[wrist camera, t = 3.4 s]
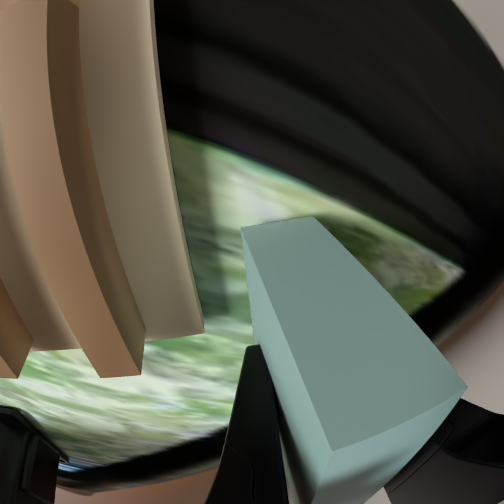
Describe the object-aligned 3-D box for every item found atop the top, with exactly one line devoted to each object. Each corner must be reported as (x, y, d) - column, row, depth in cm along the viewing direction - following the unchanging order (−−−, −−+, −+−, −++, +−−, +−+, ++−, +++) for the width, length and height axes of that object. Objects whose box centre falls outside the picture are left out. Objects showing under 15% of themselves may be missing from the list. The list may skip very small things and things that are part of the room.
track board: (1, 336, 8) (-23, 384, 6) (-73, 77, 3) (-122, 85, 1) (202, 312, 10) (209, 378, 7) (152, -39, 4) (138, -92, 2)
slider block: (260, 389, 11) (301, 524, 6) (240, 227, 8) (331, 451, 2) (308, 377, 11) (362, 504, 6) (313, 216, 8) (467, 386, 3)
